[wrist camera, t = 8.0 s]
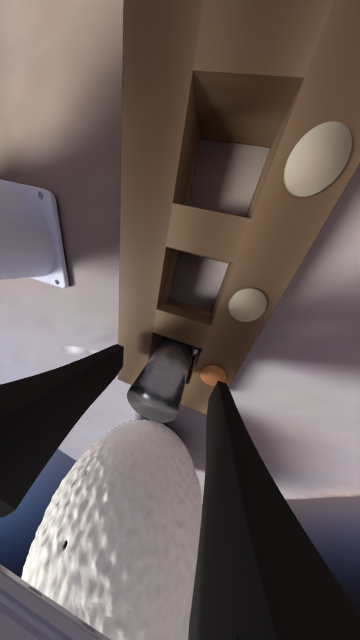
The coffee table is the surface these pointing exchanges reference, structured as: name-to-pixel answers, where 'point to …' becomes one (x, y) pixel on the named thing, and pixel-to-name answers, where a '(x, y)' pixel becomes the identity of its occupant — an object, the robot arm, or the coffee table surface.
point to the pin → (162, 382)
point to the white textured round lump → (124, 536)
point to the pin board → (237, 127)
